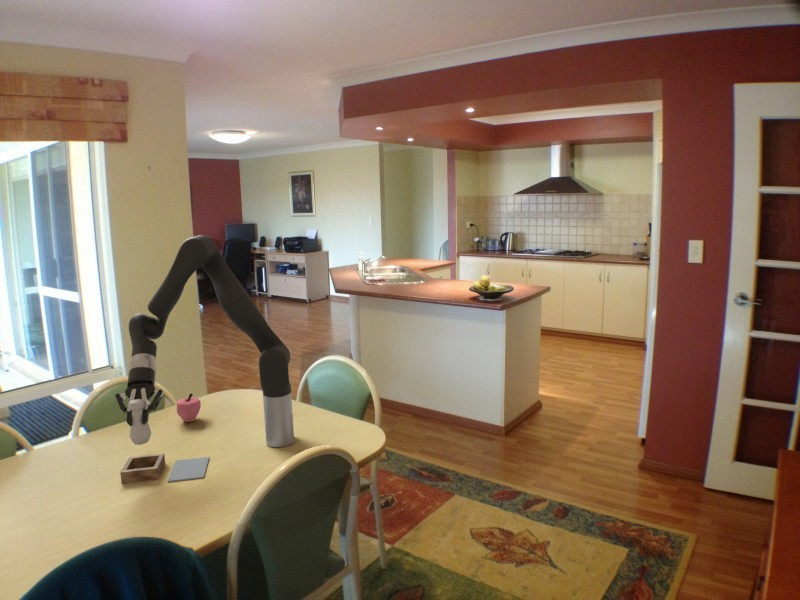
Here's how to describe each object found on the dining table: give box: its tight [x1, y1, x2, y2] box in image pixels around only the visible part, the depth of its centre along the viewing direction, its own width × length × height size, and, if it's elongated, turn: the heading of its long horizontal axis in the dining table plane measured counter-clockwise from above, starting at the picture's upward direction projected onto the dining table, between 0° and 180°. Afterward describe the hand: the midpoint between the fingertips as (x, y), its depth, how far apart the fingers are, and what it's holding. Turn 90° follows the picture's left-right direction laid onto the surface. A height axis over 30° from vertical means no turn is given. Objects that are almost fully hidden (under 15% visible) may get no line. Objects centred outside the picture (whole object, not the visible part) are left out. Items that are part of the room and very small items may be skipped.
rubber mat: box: [167, 456, 210, 483], centre depth 165 cm, size 10×13×1 cm
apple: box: [176, 393, 202, 423], centre depth 202 cm, size 10×9×10 cm
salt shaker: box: [127, 399, 152, 446], centre depth 161 cm, size 6×6×13 cm
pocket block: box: [119, 452, 166, 484], centre depth 163 cm, size 10×10×4 cm
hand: (137, 424), depth 159 cm, fingers closed on salt shaker, 3 cm apart
